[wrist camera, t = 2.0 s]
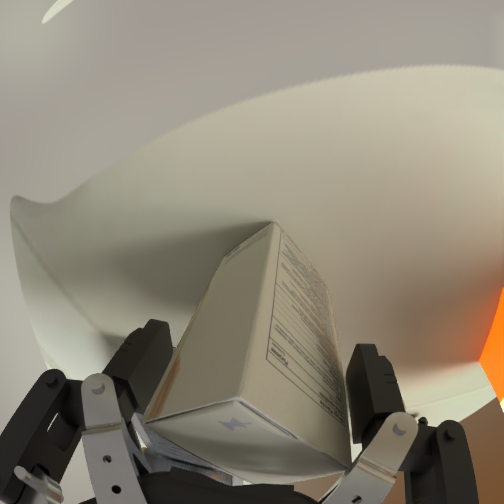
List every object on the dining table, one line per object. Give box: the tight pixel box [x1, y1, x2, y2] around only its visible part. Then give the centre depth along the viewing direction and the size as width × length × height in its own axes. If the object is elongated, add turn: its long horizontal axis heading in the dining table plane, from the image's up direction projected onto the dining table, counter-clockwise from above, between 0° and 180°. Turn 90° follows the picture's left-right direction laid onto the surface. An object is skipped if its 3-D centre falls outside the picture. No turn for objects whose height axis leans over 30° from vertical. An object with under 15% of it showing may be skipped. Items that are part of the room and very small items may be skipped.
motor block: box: [132, 347, 234, 486], centre depth 20 cm, size 11×14×9 cm
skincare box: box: [142, 222, 352, 484], centre depth 12 cm, size 6×4×12 cm
